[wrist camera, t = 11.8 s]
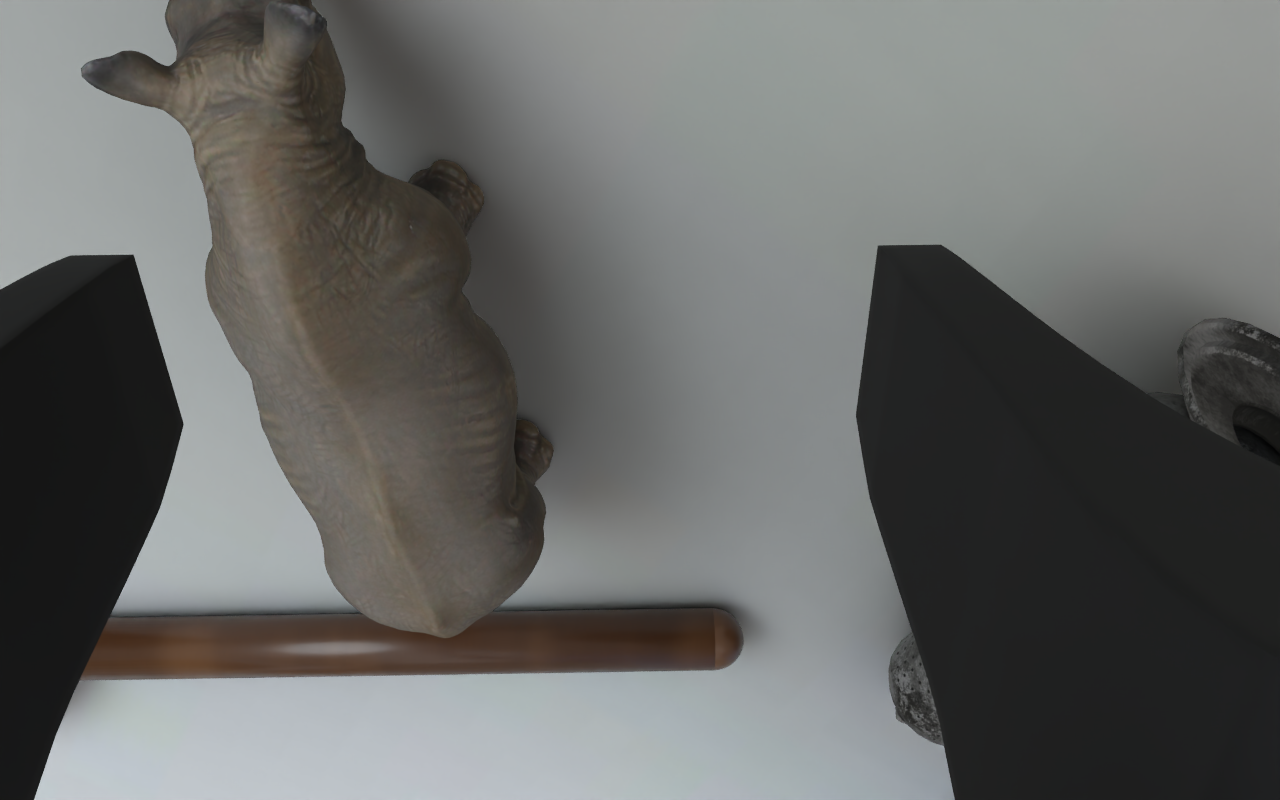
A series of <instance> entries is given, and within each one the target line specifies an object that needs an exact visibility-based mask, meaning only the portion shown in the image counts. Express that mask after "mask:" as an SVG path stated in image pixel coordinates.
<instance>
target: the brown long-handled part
mask: <svg viewBox="0 0 1280 800" xmlns="http://www.w3.org/2000/svg"><path fill="white" fill-rule="evenodd" d="M742 647H743V632H742V628H741V626H740V624H739V622H738V621H737V620H736V619H735V617H734V616H732V615H731V614H730V613H728V612H726V611H724V610H721V609H716V608H691V609H627V610H563V611H499V612H490V613H488V614H487V615H485V616H483V617H482V618H480V619H478V620H477V621H475V622H474V623H473V624H471V625H470V626H469V627H468V628H466V629H465V630H464V631H463V632H461V633H460V634H458V635H456V636H453V637H450V638H442V637H437V636H434V635H430V634H426V633H421V632H411V631H405V630H399V629H396V628H393V627H389V626H386V625H383V624H380V623H378V622H376V621H374V620H372V619H370V618H368V617H367V616H365V615H364V614H307V615H243V616H179V617H115V618H109V619H108V621H107V623H106V625H105V627H104V629H103V631H102V633H101V636H100V638H99V640H98V642H97V644H96V646H95V648H94V650H93V652H92V655H91V657H90V659H89V661H88V663H87V665H86V667H85V669H84V671H83V673H82V676H81V678H80V680H141V679H202V678H264V677H326V676H388V675H450V674H512V673H573V672H635V671H697V670H720V669H723V668H726V667H728V666H729V665H731V664H732V663H733V662H734V661H736V659H737V658H738V657H739V655H740V653H741V651H742Z"/></svg>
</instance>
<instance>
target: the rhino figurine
mask: <svg viewBox="0 0 1280 800" xmlns="http://www.w3.org/2000/svg"><path fill="white" fill-rule="evenodd" d="M165 20H166V24H167V27H168V30H169V32H170V34H171V36H172V38H173V40H174V42H175V44H176V49H177V58H176V61H175V62H174V63H173V64H172V65H170V66H164V65H162V64H160V63H158V62H156V61H155V60H153V59H152V58H150V57H149V56H147V55H145V54H142V53H140V52H136V51H122V52H120V53H117V54H115V55H113V56H111V57H106V58H101V59H96V60H93V61H90V62H88V63H86V64H85V65H84V66H83V67H82V68H81V72H82V77H83V78H84V79H85V80H86V81H87V82H88V83H90V84H91V85H93V86H94V87H96V88H97V89H99V90H102V91H104V92H106V93H108V94H110V95H113V96H115V97H118V98H121V99H124V100H127V101H131V102H134V103H138V104H141V105H145V106H150V107H156V108H158V109H161V110H164V111H166V112H167V113H168V114H170V115H171V116H172V117H174V118H175V119H176V120H177V121H179V122H180V124H181V125H182V126H183V127H184V128H185V129H186V131H187V132H188V134H189V135H190V138H191V141H192V144H193V148H194V158H195V162H196V166H197V169H198V172H199V176H200V178H201V180H202V183H203V186H204V191H205V194H206V197H207V203H208V212H209V218H210V223H211V229H212V244H213V247H212V249H211V251H210V252H209V255H208V259H207V262H206V272H205V281H206V289H207V296H208V301H209V304H210V307H211V309H212V311H213V313H214V314H215V316H216V318H217V320H218V322H219V323H220V325H221V327H222V329H223V332H224V334H225V336H226V338H227V340H228V342H229V344H230V346H231V348H232V350H233V352H234V353H235V355H236V357H237V358H238V360H239V361H240V363H241V364H242V365H243V366H244V368H245V369H246V370H247V371H248V373H249V375H250V377H251V380H252V383H253V389H254V394H255V398H256V402H257V406H258V410H259V414H260V421H261V424H262V428H263V430H264V432H265V434H266V436H267V439H268V441H269V443H270V446H271V448H272V450H273V453H274V455H275V457H276V459H277V461H278V463H279V465H280V467H281V469H282V471H283V472H284V474H285V476H286V478H287V479H288V481H289V483H290V485H291V486H292V488H293V489H294V491H295V492H296V494H297V495H298V497H299V498H300V500H301V501H302V503H303V504H304V506H305V507H306V509H307V510H308V512H309V513H310V515H311V516H312V518H313V520H314V521H315V523H316V525H317V527H318V530H319V532H320V535H321V539H322V543H323V547H324V557H325V566H326V569H327V573H328V574H329V576H330V578H331V580H332V582H333V584H334V586H335V587H336V589H337V590H338V591H339V592H340V593H341V594H342V596H343V597H344V598H345V599H346V600H347V601H348V602H349V603H350V604H351V605H352V606H354V607H355V608H356V609H357V610H358V611H360V612H361V613H362V614H364V615H365V616H367V617H368V618H370V619H372V620H374V621H376V622H378V623H380V624H383V625H386V626H389V627H393V628H396V629H399V630H405V631H411V632H421V633H426V634H430V635H434V636H437V637H442V638H450V637H453V636H456V635H458V634H460V633H461V632H463V631H464V630H465V629H466V628H468V627H469V626H470V625H471V624H473V623H474V622H475V621H477V620H478V619H480V618H482V617H483V616H485V615H487V614H488V613H490V612H492V611H493V610H494V609H496V608H497V607H498V606H499V605H501V604H502V603H503V602H504V601H505V600H506V599H508V598H509V597H510V596H511V595H512V594H513V593H515V592H516V591H517V590H518V589H519V588H520V587H521V586H522V585H523V584H524V582H525V581H526V580H527V578H528V577H529V576H530V574H531V573H532V571H533V569H534V567H535V565H536V564H537V562H538V560H539V557H540V555H541V552H542V549H543V544H544V530H543V526H544V520H545V515H546V506H545V503H544V500H543V497H542V495H541V493H540V491H539V490H538V488H537V487H536V486H535V482H536V481H537V480H538V479H539V478H540V477H541V476H542V475H543V474H544V472H545V471H546V470H547V469H548V468H549V466H550V463H551V460H552V457H553V452H554V450H553V446H552V444H551V443H550V442H549V441H548V440H546V439H545V438H544V437H543V436H542V435H540V433H539V431H538V428H537V427H536V426H535V425H534V424H533V423H531V422H529V421H526V420H517V404H518V397H517V386H516V380H515V375H514V371H513V368H512V365H511V362H510V359H509V357H508V354H507V352H506V350H505V348H504V346H503V345H502V343H501V341H500V340H499V338H498V337H497V335H496V334H495V332H494V331H493V330H492V328H491V327H490V326H489V325H488V324H487V323H486V322H485V321H484V320H483V319H481V318H480V317H479V316H478V315H476V314H475V313H474V311H473V310H472V308H471V306H470V303H469V301H468V299H467V298H466V297H465V296H464V295H463V293H462V287H463V285H464V284H465V282H466V280H467V279H468V276H469V273H470V269H471V254H470V250H469V246H468V242H467V239H466V235H467V233H468V231H469V229H470V227H471V225H472V223H473V222H474V220H475V219H476V217H477V216H478V214H479V212H480V211H481V209H482V206H483V204H484V196H483V192H482V191H481V189H480V188H479V187H478V186H477V185H475V184H473V183H471V182H470V181H469V180H468V178H467V175H466V173H465V172H464V171H463V169H462V168H461V167H460V166H459V165H457V164H456V163H454V162H450V161H446V160H438V161H436V162H434V163H433V165H432V166H431V167H430V168H429V169H425V170H421V171H419V172H417V173H416V174H414V175H413V176H412V177H411V179H410V180H409V182H408V183H407V182H403V181H400V180H398V179H395V178H393V177H390V176H388V175H385V174H383V173H381V172H380V171H378V170H376V169H375V168H374V167H373V166H372V165H371V164H370V163H369V162H368V161H367V160H366V155H365V149H364V147H363V145H361V144H360V143H359V142H358V141H357V140H356V139H355V137H354V136H353V134H352V133H351V131H350V130H348V129H347V128H345V127H343V125H342V122H341V119H342V110H343V105H344V98H345V90H346V88H345V80H344V75H343V71H342V68H341V65H340V63H339V60H338V57H337V55H336V52H335V49H334V46H333V44H332V41H331V38H330V36H329V33H328V31H327V21H326V19H325V18H324V17H322V16H321V15H320V14H319V13H318V12H317V10H316V9H315V8H314V6H313V5H312V2H311V0H169V2H168V6H167V9H166V12H165Z"/></svg>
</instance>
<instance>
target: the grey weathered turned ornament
mask: <svg viewBox="0 0 1280 800" xmlns="http://www.w3.org/2000/svg"><path fill="white" fill-rule="evenodd" d="M1178 370H1179V382H1180V385H1181V388H1182V391H1183V394H1184V396H1183V395H1176V394H1168V393H1160V392H1156V393H1148V395H1150V396H1151V397H1153V398H1154V399H1156V400H1158V401H1159V402H1161V403H1163V404H1164V405H1166V406H1168V407H1169V408H1171V409H1173V410H1174V411H1176V412H1178V413H1180V414H1181V415H1183V416H1185V417H1186V418H1188V419H1190V420H1192V421H1194V422H1196V423H1198V424H1199V425H1201V426H1203V427H1205V428H1207V429H1209V430H1211V431H1212V432H1214V433H1216V434H1218V435H1220V436H1222V437H1223V438H1225V439H1227V440H1229V441H1231V442H1233V443H1235V444H1236V445H1238V446H1240V447H1242V448H1244V449H1246V450H1248V451H1250V452H1252V453H1254V454H1256V455H1258V456H1260V457H1262V458H1264V459H1266V460H1268V461H1270V462H1272V463H1274V464H1276V465H1278V466H1280V338H1278V337H1277V336H1274V335H1272V334H1270V333H1268V332H1266V331H1264V330H1262V329H1259V328H1257V327H1255V326H1253V325H1251V324H1248V323H1244V322H1239V321H1235V320H1231V319H1227V318H1218V319H1204V320H1203V321H1201V322H1200V323H1198V324H1197V325H1195V326H1194V327H1192V328H1191V329H1190V330H1188V331H1187V332H1186V333H1185V334H1184V336H1183V339H1182V341H1181V344H1180V346H1179V349H1178ZM889 687H890V692H891V696H892V699H893V702H894V704H895V706H896V707H895V709H896V712H895V713H896V719H897V720H898V721H900V722H902V723H905V724H907V725H908V726H909V727H911V728H912V729H913V730H914V731H915V732H916V733H917V734H918V735H920V736H922V737H924V738H925V739H927V740H929V741H931V742H933V743H936V744H939V745H942V746H944V743H943V738H942V733H941V728H940V723H939V719H938V715H937V712H936V708H935V704H934V700H933V697H932V693H931V689H930V686H929V682H928V678H927V675H926V672H925V669H924V666H923V663H922V660H921V657H920V654H919V650H918V647H917V644H916V641H915V638H914V635H913V632H912V633H910V634H909V635H908V636H907V637H905V638H904V639H903V640H902V641H901V642H900V644H899V645H898V646H897V648H896V650H895V651H894V653H893V655H892V657H891V660H890V665H889Z"/></svg>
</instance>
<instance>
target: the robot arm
mask: <svg viewBox="0 0 1280 800" xmlns="http://www.w3.org/2000/svg"><path fill="white" fill-rule="evenodd" d="M856 418H857V424H858V431H859V437H860V443H861V450H862V456H863V462H864V468H865V473H866V479H867V484H868V490H869V495H870V500H871V503H872V506H873V510H874V513H875V516H876V519H877V523H878V526H879V529H880V532H881V535H882V538H883V542H884V545H885V548H886V551H887V554H888V558H889V561H890V564H891V567H892V570H893V573H894V576H895V579H896V582H897V585H898V589H899V592H900V595H901V598H902V601H903V604H904V607H905V610H906V613H907V616H908V619H909V623H910V626H911V629H912V632H913V635H914V638H915V641H916V644H917V647H918V650H919V654H920V657H921V660H922V663H923V666H924V669H925V672H926V675H927V678H928V682H929V686H930V689H931V693H932V697H933V700H934V704H935V708H936V712H937V715H938V719H939V723H940V728H941V733H942V738H943V743H944V748H945V753H946V758H947V763H948V768H949V773H950V778H951V783H952V787H953V792H954V797H955V800H1280V466H1278V465H1276V464H1274V463H1272V462H1270V461H1268V460H1266V459H1264V458H1262V457H1260V456H1258V455H1256V454H1254V453H1252V452H1250V451H1248V450H1246V449H1244V448H1242V447H1240V446H1238V445H1236V444H1235V443H1233V442H1231V441H1229V440H1227V439H1225V438H1223V437H1222V436H1220V435H1218V434H1216V433H1214V432H1212V431H1211V430H1209V429H1207V428H1205V427H1203V426H1201V425H1199V424H1198V423H1196V422H1194V421H1192V420H1190V419H1188V418H1186V417H1185V416H1183V415H1181V414H1180V413H1178V412H1176V411H1174V410H1173V409H1171V408H1169V407H1168V406H1166V405H1164V404H1163V403H1161V402H1159V401H1158V400H1156V399H1154V398H1153V397H1151V396H1150V395H1148V394H1147V393H1145V392H1144V391H1142V390H1140V389H1139V388H1137V387H1136V386H1134V385H1133V384H1131V383H1130V382H1128V381H1127V380H1125V379H1124V378H1122V377H1120V376H1119V375H1117V374H1116V373H1114V372H1113V371H1111V370H1110V369H1108V368H1107V367H1105V366H1104V365H1102V364H1101V363H1099V362H1098V361H1096V360H1095V359H1094V358H1092V357H1091V356H1089V355H1088V354H1086V353H1085V352H1084V351H1082V350H1081V349H1079V348H1078V347H1076V346H1075V345H1074V344H1072V343H1071V342H1070V341H1068V340H1067V339H1065V338H1064V337H1063V336H1061V335H1060V334H1059V333H1057V332H1056V331H1055V330H1053V329H1052V328H1051V327H1049V326H1048V325H1047V324H1045V323H1044V322H1043V321H1041V320H1040V319H1039V318H1037V317H1036V316H1035V315H1033V314H1032V313H1031V312H1029V311H1028V310H1027V309H1026V308H1024V307H1023V306H1022V305H1020V304H1019V303H1018V302H1016V301H1015V300H1014V299H1013V298H1011V297H1010V296H1009V295H1008V294H1006V293H1005V292H1004V291H1002V290H1001V289H1000V288H999V287H997V286H996V285H995V284H993V283H992V282H991V281H990V280H988V279H987V278H986V277H985V276H983V275H982V274H981V273H979V272H978V271H977V270H976V269H974V268H973V267H972V266H970V265H969V264H968V263H966V262H965V261H964V260H962V259H961V258H960V257H958V256H957V255H956V254H954V253H953V252H951V251H950V250H948V249H947V248H945V247H944V246H942V245H883V246H878V250H877V257H876V265H875V273H874V280H873V288H872V296H871V303H870V311H869V319H868V327H867V334H866V342H865V350H864V357H863V365H862V373H861V380H860V388H859V396H858V404H857V411H856ZM183 425H184V424H183V420H182V417H181V414H180V410H179V407H178V404H177V400H176V397H175V393H174V390H173V387H172V383H171V380H170V376H169V373H168V370H167V366H166V363H165V360H164V356H163V353H162V349H161V346H160V343H159V339H158V336H157V333H156V329H155V326H154V322H153V319H152V316H151V312H150V309H149V306H148V302H147V299H146V295H145V292H144V289H143V285H142V282H141V278H140V275H139V272H138V268H137V265H136V262H135V258H134V255H79V256H68V257H66V258H63V259H61V260H58V261H56V262H53V263H51V264H49V265H47V266H45V267H43V268H41V269H38V270H37V271H35V272H33V273H31V274H29V275H27V276H25V277H23V278H21V279H19V280H17V281H15V282H14V283H12V284H10V285H8V286H6V287H4V288H3V289H1V290H0V800H34V798H35V795H36V792H37V789H38V786H39V783H40V780H41V777H42V774H43V771H44V768H45V765H46V762H47V759H48V756H49V753H50V750H51V747H52V744H53V741H54V739H55V736H56V733H57V731H58V728H59V726H60V724H61V721H62V719H63V716H64V714H65V712H66V709H67V707H68V704H69V702H70V700H71V697H72V695H73V692H74V690H75V688H76V686H77V684H78V682H79V680H80V678H81V676H82V673H83V671H84V669H85V667H86V665H87V663H88V661H89V659H90V657H91V655H92V652H93V650H94V648H95V646H96V644H97V642H98V640H99V638H100V636H101V633H102V631H103V629H104V627H105V625H106V623H107V621H108V619H109V617H110V615H111V612H112V610H113V608H114V606H115V604H116V602H117V600H118V598H119V596H120V594H121V591H122V589H123V587H124V585H125V583H126V581H127V579H128V577H129V575H130V572H131V570H132V568H133V566H134V564H135V562H136V559H137V557H138V555H139V553H140V551H141V549H142V546H143V544H144V542H145V540H146V538H147V536H148V533H149V531H150V529H151V527H152V525H153V522H154V520H155V518H156V515H157V513H158V511H159V509H160V506H161V502H162V499H163V496H164V493H165V489H166V486H167V483H168V480H169V477H170V473H171V470H172V466H173V462H174V459H175V455H176V451H177V447H178V444H179V440H180V436H181V432H182V429H183Z"/></svg>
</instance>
